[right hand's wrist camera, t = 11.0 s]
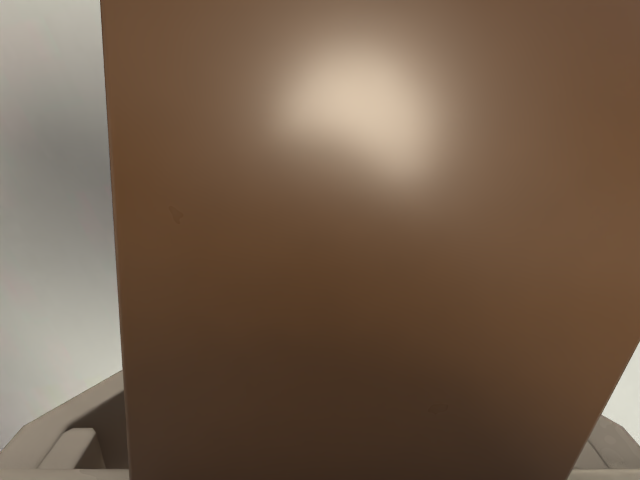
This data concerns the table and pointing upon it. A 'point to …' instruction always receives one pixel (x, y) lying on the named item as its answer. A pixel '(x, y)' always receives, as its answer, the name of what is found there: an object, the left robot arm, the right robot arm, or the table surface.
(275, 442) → the bar
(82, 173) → the table surface
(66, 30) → the table surface
